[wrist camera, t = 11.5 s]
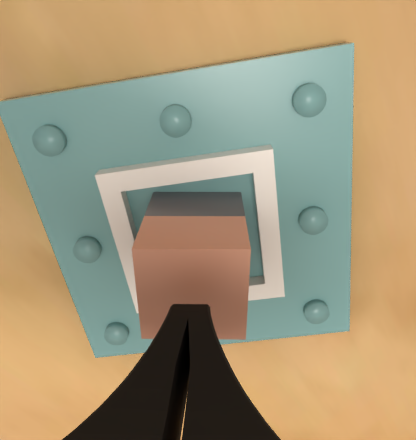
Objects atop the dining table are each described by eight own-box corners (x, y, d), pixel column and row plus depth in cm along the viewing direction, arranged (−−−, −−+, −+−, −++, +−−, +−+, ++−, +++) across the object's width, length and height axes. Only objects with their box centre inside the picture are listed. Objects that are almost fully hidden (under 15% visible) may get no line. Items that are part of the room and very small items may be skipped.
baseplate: (99, 346, 25) (91, 367, 23) (6, 99, 18) (-15, 105, 16) (344, 319, 24) (353, 340, 22) (346, 42, 17) (360, 43, 15)
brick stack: (158, 265, 21) (141, 338, 16) (153, 191, 19) (131, 248, 14) (238, 265, 21) (245, 339, 16) (240, 191, 19) (250, 249, 14)
